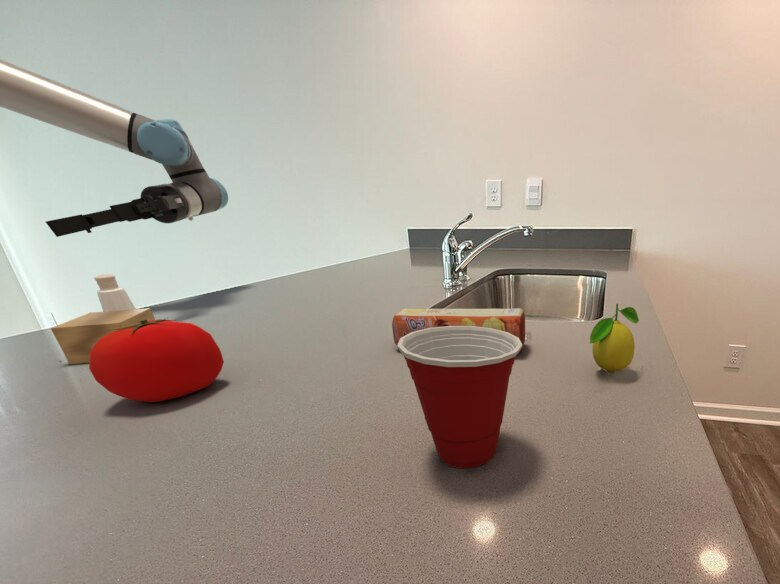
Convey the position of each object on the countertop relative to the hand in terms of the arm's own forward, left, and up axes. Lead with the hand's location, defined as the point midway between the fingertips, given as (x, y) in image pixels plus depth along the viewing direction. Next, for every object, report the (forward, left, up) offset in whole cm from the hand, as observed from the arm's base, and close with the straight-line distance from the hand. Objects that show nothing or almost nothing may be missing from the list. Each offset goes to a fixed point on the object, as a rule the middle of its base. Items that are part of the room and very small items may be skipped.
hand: (83, 221), depth 73 cm
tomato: (+23, -37, -20) cm, 48 cm away
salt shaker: (+2, -5, -20) cm, 21 cm away
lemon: (+81, -48, -20) cm, 97 cm away
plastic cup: (+59, -61, -20) cm, 87 cm away
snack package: (+62, -32, -20) cm, 73 cm away
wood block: (+6, -16, -20) cm, 26 cm away
